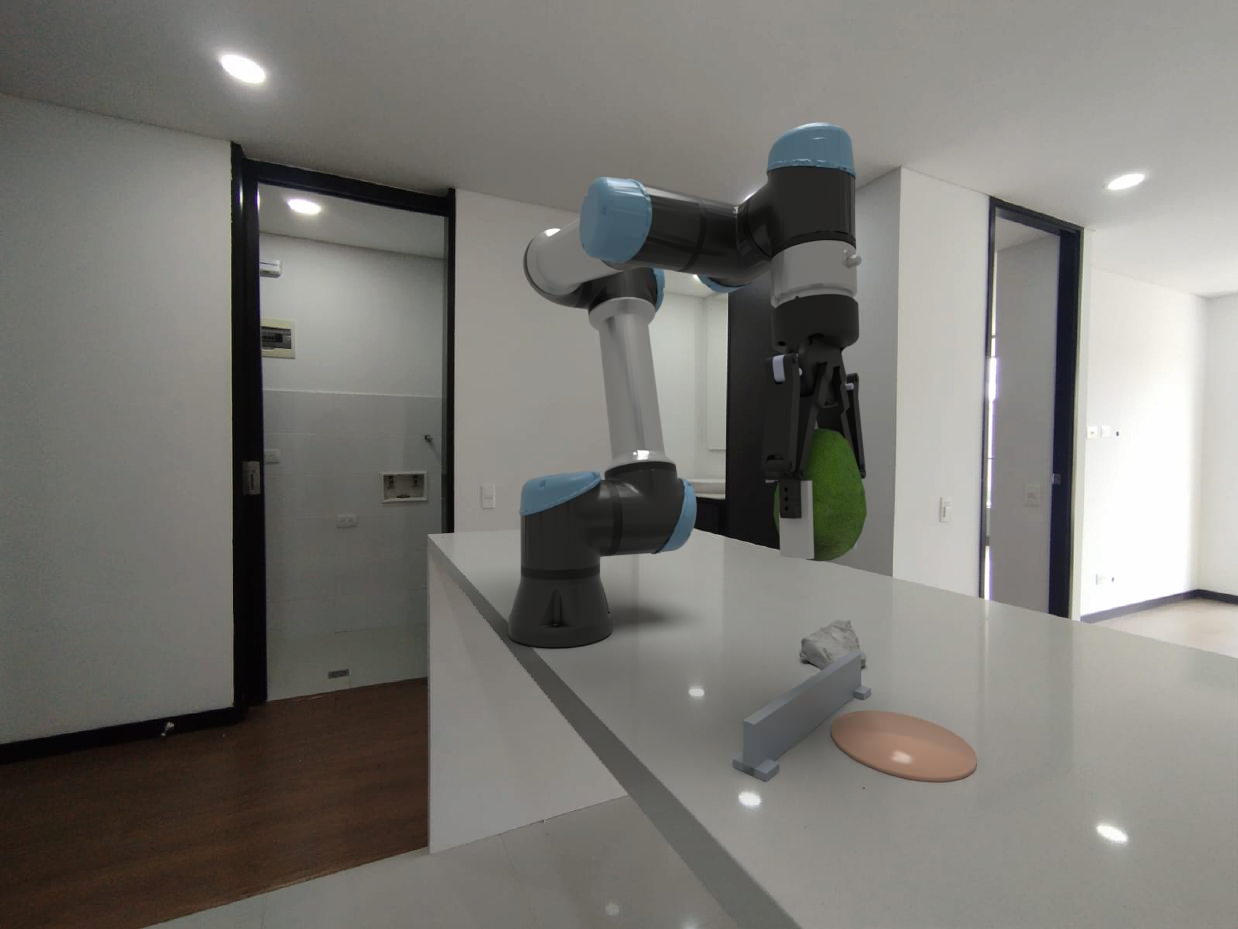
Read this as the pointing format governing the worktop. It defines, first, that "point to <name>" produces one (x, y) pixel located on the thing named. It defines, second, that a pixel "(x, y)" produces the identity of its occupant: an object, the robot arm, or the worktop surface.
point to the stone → (831, 644)
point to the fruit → (833, 496)
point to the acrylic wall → (797, 715)
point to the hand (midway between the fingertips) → (820, 551)
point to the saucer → (903, 746)
